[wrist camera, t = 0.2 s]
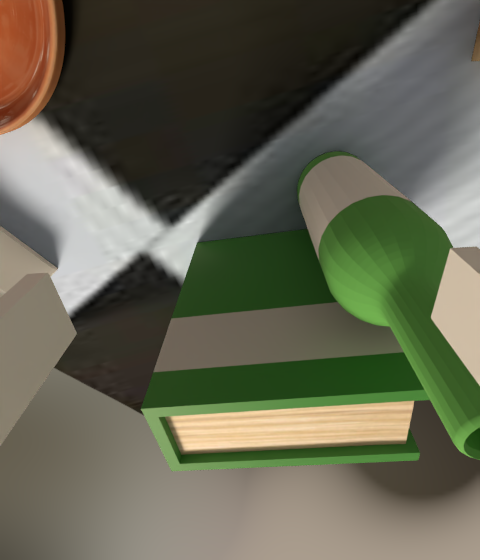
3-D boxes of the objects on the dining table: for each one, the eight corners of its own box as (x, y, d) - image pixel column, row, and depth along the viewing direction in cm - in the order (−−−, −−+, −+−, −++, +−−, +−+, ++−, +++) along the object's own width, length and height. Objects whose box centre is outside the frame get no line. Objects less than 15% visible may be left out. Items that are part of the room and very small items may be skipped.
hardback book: (341, 224, 39) (435, 389, 19) (340, 277, 43) (418, 460, 23) (197, 242, 41) (140, 408, 21) (209, 291, 45) (171, 471, 24)
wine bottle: (302, 225, 39) (390, 505, 14) (288, 160, 35) (376, 384, 10) (369, 208, 38) (605, 484, 12) (362, 138, 34) (687, 334, 8)
